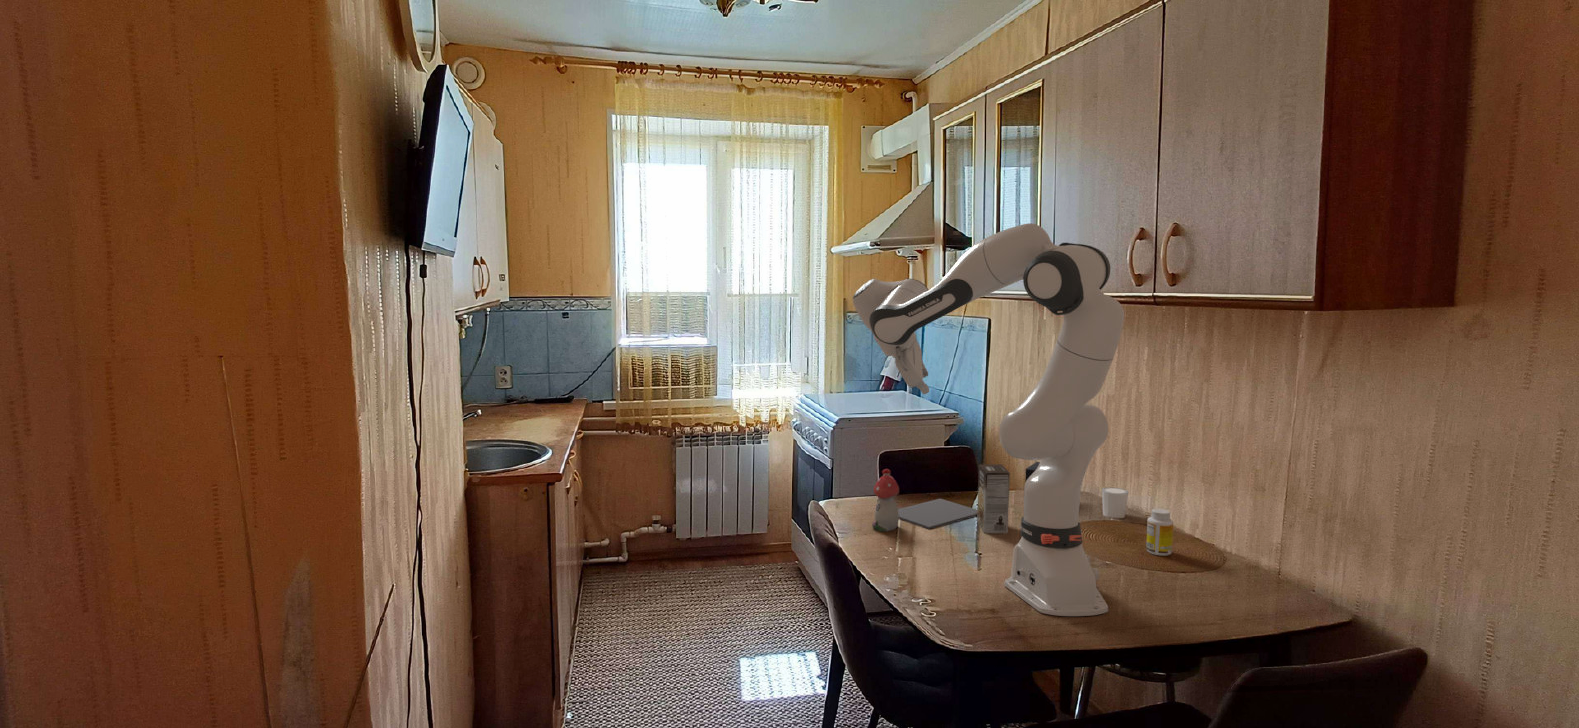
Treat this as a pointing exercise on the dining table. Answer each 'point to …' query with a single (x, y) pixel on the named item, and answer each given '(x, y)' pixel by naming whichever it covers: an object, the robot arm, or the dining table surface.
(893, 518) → the decorative ornament
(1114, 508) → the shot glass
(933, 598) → the dining table surface
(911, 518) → the mat
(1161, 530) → the supplement bottle
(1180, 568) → the dining table surface
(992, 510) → the coffee box
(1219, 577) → the dining table surface
